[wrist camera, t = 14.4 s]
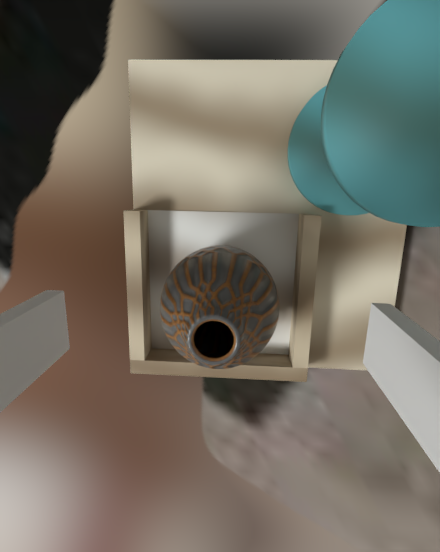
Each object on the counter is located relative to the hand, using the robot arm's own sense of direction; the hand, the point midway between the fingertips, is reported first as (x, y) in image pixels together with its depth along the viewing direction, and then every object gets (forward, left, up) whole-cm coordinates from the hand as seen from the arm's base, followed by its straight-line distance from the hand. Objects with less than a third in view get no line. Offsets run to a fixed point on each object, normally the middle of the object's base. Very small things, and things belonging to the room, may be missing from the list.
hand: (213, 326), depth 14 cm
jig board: (-4, +3, -10) cm, 11 cm away
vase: (+1, 0, -9) cm, 9 cm away
